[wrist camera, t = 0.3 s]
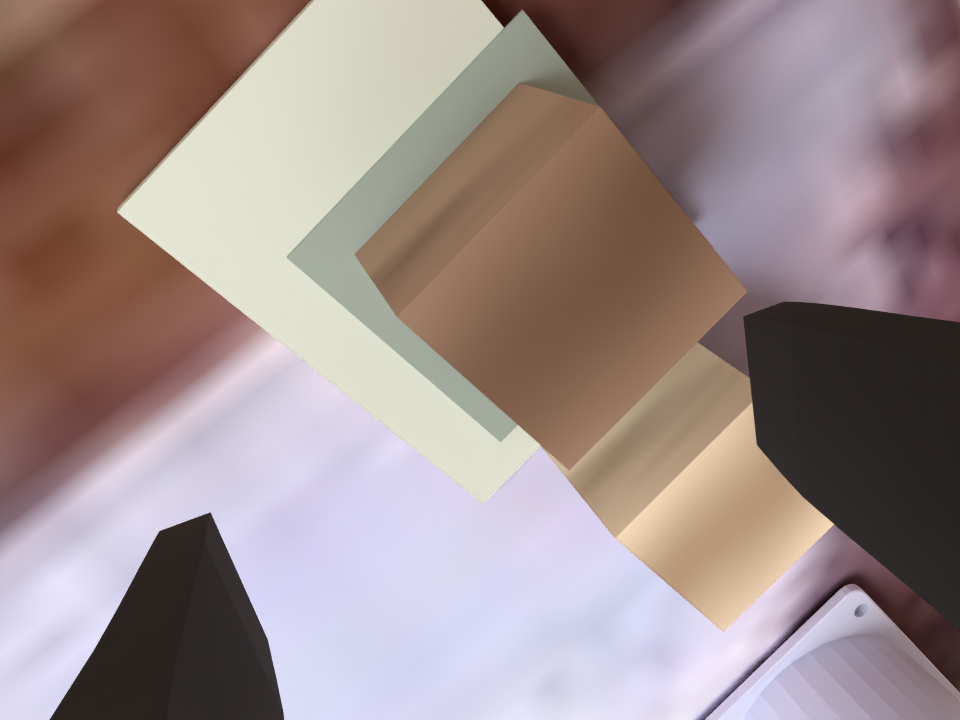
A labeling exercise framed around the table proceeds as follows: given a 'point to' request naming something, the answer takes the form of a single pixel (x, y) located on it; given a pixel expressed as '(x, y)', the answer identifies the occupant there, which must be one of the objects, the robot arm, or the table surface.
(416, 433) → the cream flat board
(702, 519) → the maple cube
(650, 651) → the table surface
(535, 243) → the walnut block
